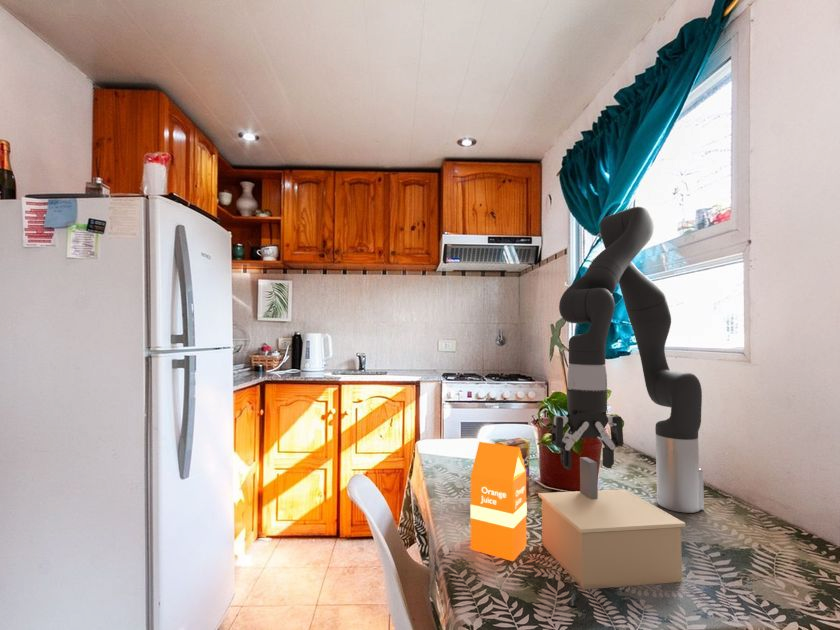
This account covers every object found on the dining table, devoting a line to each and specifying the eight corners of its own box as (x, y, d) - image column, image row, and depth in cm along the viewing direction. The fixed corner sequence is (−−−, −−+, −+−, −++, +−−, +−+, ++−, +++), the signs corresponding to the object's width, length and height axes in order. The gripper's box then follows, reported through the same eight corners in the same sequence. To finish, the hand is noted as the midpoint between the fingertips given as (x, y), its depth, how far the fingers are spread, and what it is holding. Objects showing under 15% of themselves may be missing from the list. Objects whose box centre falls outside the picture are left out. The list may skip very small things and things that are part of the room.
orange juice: (513, 561, 81) (513, 451, 82) (470, 549, 85) (470, 445, 86) (527, 545, 87) (526, 443, 88) (486, 534, 92) (486, 438, 93)
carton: (625, 539, 90) (624, 494, 91) (682, 581, 74) (680, 527, 75) (542, 544, 88) (541, 498, 88) (582, 589, 72) (582, 533, 72)
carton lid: (625, 492, 91) (624, 455, 92) (685, 526, 74) (684, 481, 75) (538, 496, 89) (538, 457, 89) (580, 532, 72) (580, 485, 72)
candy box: (505, 508, 106) (504, 444, 107) (492, 502, 110) (492, 440, 111) (530, 500, 111) (530, 440, 112) (518, 495, 115) (517, 436, 116)
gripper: (609, 384, 93) (609, 462, 93) (545, 384, 92) (545, 463, 91) (630, 388, 86) (631, 472, 85) (562, 388, 84) (562, 474, 83)
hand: (587, 467), depth 88 cm, fingers open, 8 cm apart
